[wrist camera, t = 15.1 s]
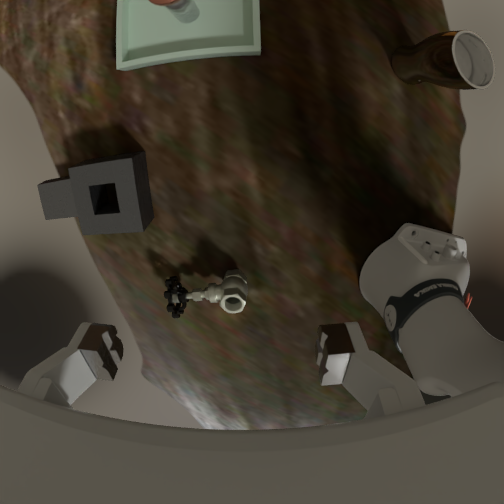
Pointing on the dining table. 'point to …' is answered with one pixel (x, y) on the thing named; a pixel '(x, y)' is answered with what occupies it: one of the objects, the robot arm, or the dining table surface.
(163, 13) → the tray
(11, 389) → the robot arm
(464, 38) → the beer glass
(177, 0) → the hitch pin
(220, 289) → the valve
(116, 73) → the dining table surface
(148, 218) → the block
